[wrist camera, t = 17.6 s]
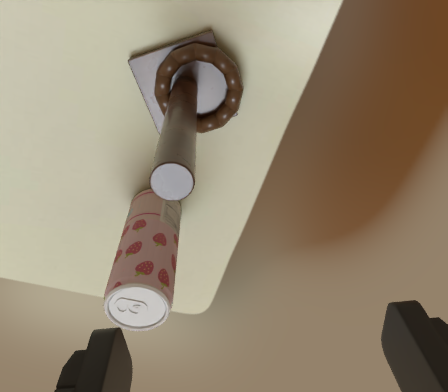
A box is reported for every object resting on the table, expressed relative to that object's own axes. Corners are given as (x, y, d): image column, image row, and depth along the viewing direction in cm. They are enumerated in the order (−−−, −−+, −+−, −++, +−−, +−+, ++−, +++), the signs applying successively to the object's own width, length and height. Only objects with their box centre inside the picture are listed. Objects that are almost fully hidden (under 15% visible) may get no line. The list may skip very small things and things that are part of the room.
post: (211, 29, 34) (221, 86, 17) (237, 112, 38) (263, 220, 22) (129, 58, 35) (64, 137, 18) (162, 135, 39) (133, 257, 22)
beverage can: (125, 189, 42) (91, 288, 29) (176, 184, 42) (165, 280, 29) (137, 231, 45) (110, 336, 32) (184, 225, 45) (177, 329, 32)
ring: (226, 30, 33) (227, 32, 32) (251, 114, 37) (253, 119, 36) (141, 60, 34) (139, 63, 33) (175, 139, 38) (174, 144, 37)
